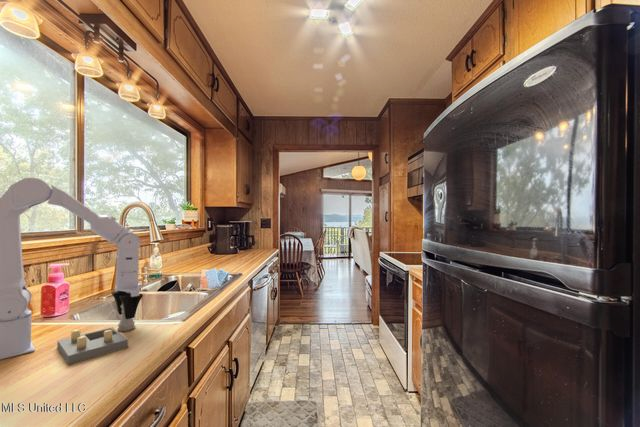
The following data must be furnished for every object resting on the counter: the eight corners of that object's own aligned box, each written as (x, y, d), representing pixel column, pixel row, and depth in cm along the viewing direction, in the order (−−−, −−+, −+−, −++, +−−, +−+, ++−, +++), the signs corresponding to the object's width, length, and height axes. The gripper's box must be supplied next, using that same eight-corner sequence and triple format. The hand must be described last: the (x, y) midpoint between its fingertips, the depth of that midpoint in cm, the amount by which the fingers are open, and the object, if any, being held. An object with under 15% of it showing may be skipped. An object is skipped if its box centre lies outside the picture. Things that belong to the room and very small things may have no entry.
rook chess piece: (132, 325, 92) (132, 299, 92) (137, 328, 89) (137, 302, 89) (115, 329, 88) (115, 302, 88) (120, 333, 85) (120, 305, 85)
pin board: (57, 348, 75) (57, 330, 75) (112, 334, 84) (112, 318, 84) (68, 364, 67) (68, 345, 67) (127, 347, 76) (128, 329, 76)
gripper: (151, 272, 87) (150, 317, 87) (133, 267, 96) (132, 307, 96) (123, 276, 82) (122, 324, 82) (108, 269, 91) (107, 313, 91)
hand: (126, 315), depth 89 cm, fingers open, 5 cm apart
